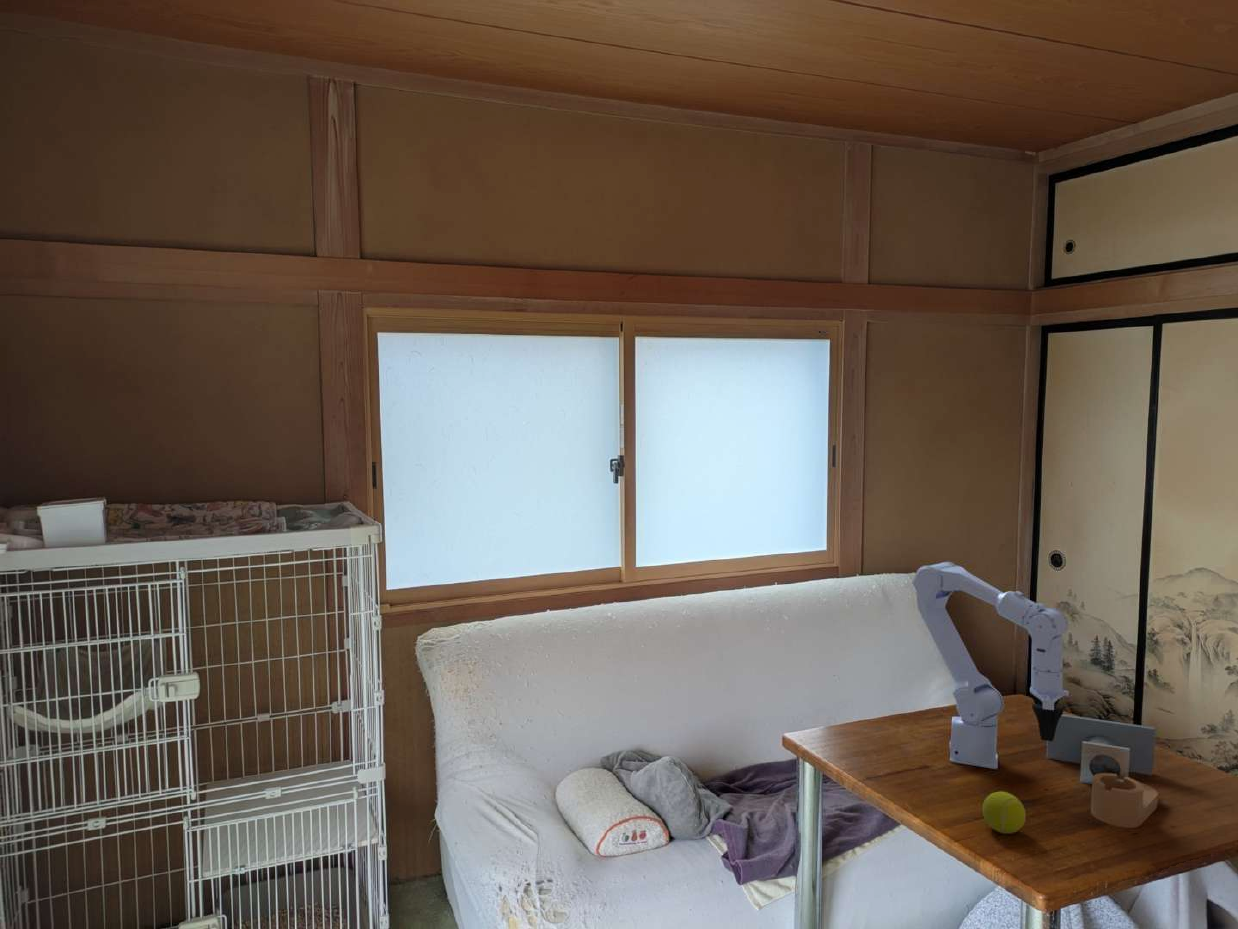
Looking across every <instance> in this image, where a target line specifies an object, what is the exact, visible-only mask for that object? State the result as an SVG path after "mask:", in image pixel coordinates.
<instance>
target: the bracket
mask: <svg viewBox="0 0 1238 929" xmlns="http://www.w3.org/2000/svg"><path fill="white" fill-rule="evenodd" d="M1091 785H1092V786H1091V800H1090V805H1091V806H1090V813H1091V815H1092V817H1094V818H1095V819H1097V820H1099V821H1101V822H1102V823H1105V824H1107V825H1111V826H1114V827H1119V828H1127V829H1128V828H1129V829H1132V828H1138V827H1140V826H1141V825H1142V824H1143V823H1144V822H1145V821H1146V820H1147V819H1148V818H1149V817H1150V816H1151V815H1152V814H1153V812H1155V811H1156V809H1157V808H1158V798H1159V795H1158V794H1159V793H1158V791H1157V790H1156V789H1155V788H1153V787H1152V786H1150V785H1149V784H1145V783H1142V782H1139V781H1138V780H1135V779H1134V778H1131V777H1129V776H1128V777H1126V776H1125V777H1124V778H1123V779H1117V774H1112V773H1099V774H1095V775H1094V776H1093V783H1092V784H1091Z"/></svg>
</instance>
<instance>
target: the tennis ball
mask: <svg viewBox="0 0 1238 929" xmlns="http://www.w3.org/2000/svg"><path fill="white" fill-rule="evenodd" d="M981 810H982V816H983V819H984V821H985V822H986V824H987V825H988V826H989V827H990V828H991V829H992V830H994V831H996V832H998V833H1001V834H1004V835H1005V834H1007V835H1009V834H1014V833H1016V832H1018V831H1020V830H1021V828H1023V826H1024V824H1025V822H1026V818H1027V817H1026V809H1025V807H1024V804H1023V803H1022V801H1020V800H1019V798H1018V797H1016V796H1015V795H1013V794H1012V793H1010V792H1009V793H1008V792H1007V791H997V792H996V791H995V792H992V793H990V794H989V795H988V796H986V797H985V799H984V801H983V804H982V808H981Z"/></svg>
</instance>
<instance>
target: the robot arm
mask: <svg viewBox="0 0 1238 929" xmlns="http://www.w3.org/2000/svg"><path fill="white" fill-rule="evenodd" d="M912 585H913V587H914V589H915V591H916V603H917V610H918V612H919V614H920V616H921V618H922V620H923V621H924V623H925V625H926V627H927V629H928V631H929V633H930V635H931V637H932V640H933V641H934V643H935V645H936V647H937V649H938V651H939V653H940V655H941V657H942V659H943V661H944V663H945V665H946V666H947V669H948V671H949V673H950V675H951V677H952V679H953V681H954V685H953V690H952V695H953V698H954V700H955V704H956V710H957V713H958V715H959V716H952V718H951V732H950V733H951V734H950V740H949V746H948V748H949V751H950V756H949V757H950V758H949V761H950V762H952V763H957V764H964V765H969V766H975V767H981V768H986V769H993V770H998V767H999V766H998V762H999V761H998V760H999V758H998V754H997V738H998V737H997V736H998V734H997V733H998V715H999V714H1000V713H1002V711H1003V709H1004V705H1005V702H1004V698H1003V696H1002V694H1001V692H1000V691H999V690H997V689H996V688H995V687H994V686H993V684H992V683H991V681H990V679H989V678H987V677H986V676H984V675H982V674H981V673H980V672H979V670H978V669H977V667H976V664H975V663H974V661H973V659H972V657H971V654H970V653H969V652H968V650H967V647H966V645H965V644H964V642H963V640H962V637H961V636H960V634H959V632H958V630H957V628H956V626H955V624H954V622H953V620H952V619H951V617H950V614H949V613H948V611H947V609H946V605H947V603H948V600H949V597H951V595H952V594H953V592H954V591H962V592H964V593H967V594H968V595H971V596H973V597H975V598H977V599H980V600H982V601H983V602H986V603H988V604H990V605H992V606H994V607H995V609H996V612H997V614H998V615H999V616H1001V617H1003V618H1005V619H1007V620H1008V621H1011V622H1013V623H1014V624H1016V625H1018V626H1019V627H1021V628H1023V629H1026V631H1027V633H1028V635H1029V636H1030V638H1031V671H1030V672H1031V674H1030V675H1031V677H1030V678H1031V681H1030V687H1029V692H1030V696H1031V698H1032V700H1033V703H1031V708H1032V710H1033V713H1034V714H1035V717H1036V720H1037V724H1038V729H1039V736H1040V740H1041V741H1045V742H1046V741H1053V739H1054V736H1055V731H1056V727H1057V723H1058V721H1059V719H1060V717H1061V716H1062V714H1064V708H1062V707H1060V708H1059V707H1057V705H1058V703H1059V701H1060V700H1061V698H1062V697H1069V696H1070V692H1069V691H1068V690H1066V689H1065V690H1064V689H1063V669H1064V668H1063V664H1064V661H1063V660H1064V659H1063V658H1064V655H1063V654H1064V653H1063V652H1064V645H1063V644H1064V638H1063V636H1064V634H1065V633H1066V632H1067V630H1068V627H1069V622H1068V619H1067V616H1066V615H1065V614H1064V613H1063V612H1062V611H1060V610H1059V609H1057V608H1055V607H1048V608H1045V605H1044V604H1043V603H1040V602H1039V603H1036V602H1035V601H1034V600H1033V601H1032V600H1030V599H1028V598H1027V597H1025V596H1023V595H1024V593H1023V592H1021V591H1019V590H1017V591H1012V590H1008V591H1006V592H1003V591H1001V590H999V589H998V588H996V587H994V586H993V585H991V584H989V583H987V582H985V581H984V580H982V579H980V578H979V577H977V576H975V575H973V574H972V573H971V572H969V571H967V570H966V569H965V568H964V567H962V566H960V565H956V564H954V563H953V562H952V561H951V562H950V561H943V562H940V563H936V564H932V565H922V566H921V567H919V568H918V569H917V570H916V572H915V574H914V577H913V581H912Z"/></svg>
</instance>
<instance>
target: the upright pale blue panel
mask: <svg viewBox="0 0 1238 929" xmlns="http://www.w3.org/2000/svg"><path fill="white" fill-rule="evenodd" d="M1155 735H1156V728H1155V727H1153V726H1146V725H1140V724H1139V725H1138V724H1134V723H1127V722H1119V721H1113V720H1112V721H1111V720H1105V719H1098V718H1091V717H1085V716H1078V715H1077V716H1076V715H1070V714H1064V713H1063V714H1062V716H1061V717H1060V719H1059V721H1058V723H1057V727H1056V731H1055V736H1054V739H1053V741H1047V744H1046V759H1051V760H1055V761H1056V760H1057V761H1062V762H1063V761H1064V762H1069V763H1074V764H1075V763H1076V764H1080V777H1079V778H1080V779H1079V782H1080V783H1084V784H1089V785H1092V783H1093V776H1094V775H1095V774H1099V773H1112V774H1117V779H1123V778H1124V777H1125V776H1126V777H1129V773H1135V774H1141V775H1142V774H1143V775H1148V776H1153V771H1154V755H1155V753H1154V752H1155V741H1156V740H1155V739H1156V738H1155V737H1156V736H1155Z"/></svg>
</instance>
